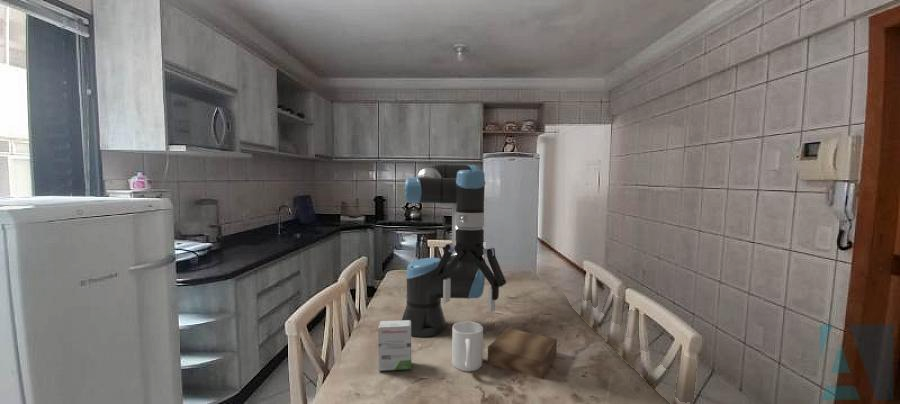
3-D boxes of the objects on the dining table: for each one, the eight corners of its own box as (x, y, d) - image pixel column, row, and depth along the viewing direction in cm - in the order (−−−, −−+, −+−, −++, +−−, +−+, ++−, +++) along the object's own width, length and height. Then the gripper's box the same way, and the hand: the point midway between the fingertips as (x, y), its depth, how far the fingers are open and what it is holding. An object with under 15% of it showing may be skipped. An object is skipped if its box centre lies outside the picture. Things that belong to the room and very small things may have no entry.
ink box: (411, 360, 97) (411, 318, 96) (411, 370, 92) (411, 326, 91) (379, 361, 96) (379, 319, 95) (377, 371, 91) (377, 327, 91)
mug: (484, 380, 88) (485, 340, 87) (451, 380, 88) (452, 339, 87) (481, 357, 100) (481, 321, 99) (451, 356, 100) (452, 320, 99)
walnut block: (487, 364, 96) (487, 346, 96) (507, 343, 109) (507, 327, 109) (541, 380, 89) (542, 361, 89) (556, 356, 102) (556, 339, 101)
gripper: (423, 226, 97) (422, 302, 98) (509, 233, 84) (507, 320, 85) (437, 223, 103) (436, 295, 104) (519, 230, 91) (517, 311, 92)
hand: (468, 306), depth 95 cm, fingers open, 13 cm apart
